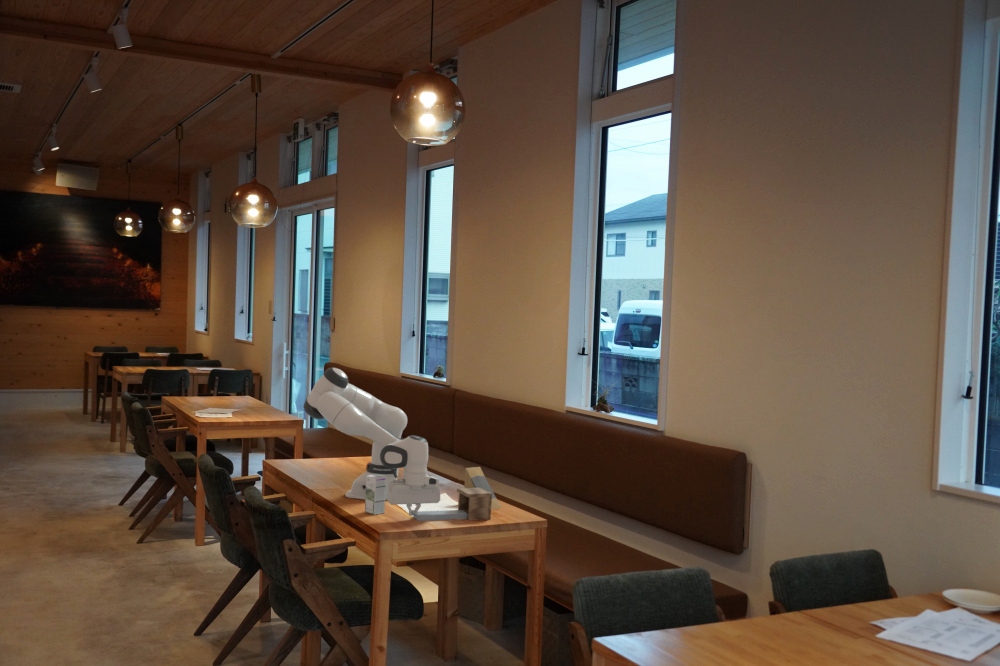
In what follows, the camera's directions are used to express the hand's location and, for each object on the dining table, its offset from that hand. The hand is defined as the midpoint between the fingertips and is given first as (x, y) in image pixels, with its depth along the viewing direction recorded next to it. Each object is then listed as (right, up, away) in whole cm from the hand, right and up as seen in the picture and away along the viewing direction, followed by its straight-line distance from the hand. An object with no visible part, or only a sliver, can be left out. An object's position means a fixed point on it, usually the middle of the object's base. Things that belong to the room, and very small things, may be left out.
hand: (413, 515), depth 329 cm
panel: (+10, -3, +5) cm, 12 cm away
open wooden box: (+22, -3, +11) cm, 25 cm away
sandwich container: (+26, -3, +33) cm, 42 cm away
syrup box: (-16, -1, +8) cm, 17 cm away
